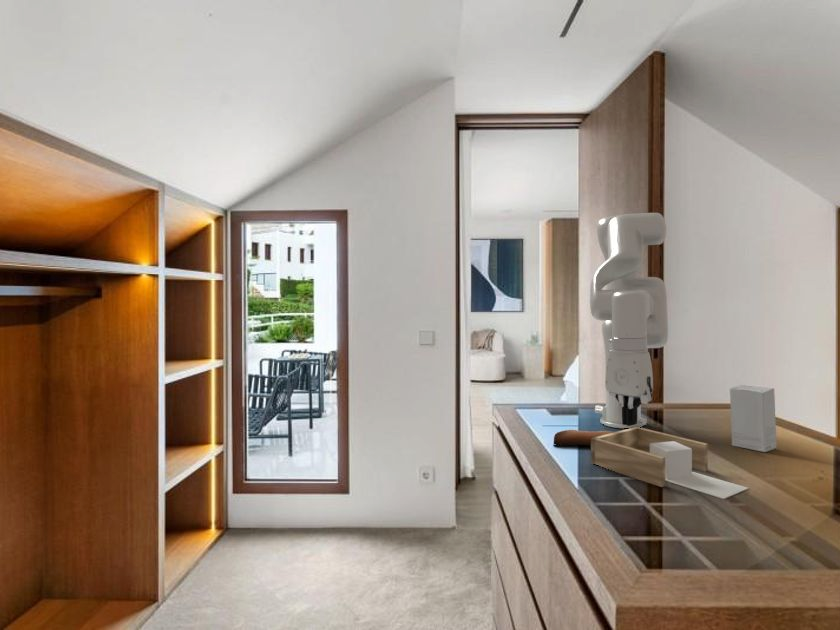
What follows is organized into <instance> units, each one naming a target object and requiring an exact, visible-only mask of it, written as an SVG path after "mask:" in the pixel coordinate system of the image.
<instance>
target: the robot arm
mask: <svg viewBox="0 0 840 630" xmlns="http://www.w3.org/2000/svg"><path fill="white" fill-rule="evenodd" d="M596 235H597V241H598V244H599V248H600V251H601V252H602V255H603V257H604V260H605V261H604V262H603V263H602V264H601V265H600V266H599V267H598V268H597V270H596V271H595V273H594V274H593V276H592V278H591V282H590V288H589V289H590V290H589V291H590V293H589V303H590V304H589V306H590V307H589V308H590V314H591V315H592V317H593V318H594V319H595V320H597V321H601V322H602V324H601V325H602V326H601V332H602V339H603V345H604V356H605V359H604V360H605V379H604V385H605V386H604V387H605V405H604V406H603V405H599V404H596V405H595V407H594V413H596V414H601V415H602V416H600V421H599V422H600V424H602V425H603V424H604V425H603V426H606V427H610V428H615V429H624V428H631V427H639V426H643V425H645V424H646V423H647V419H646V418H643V417H641V416H642V415H641V413H642V412H641V411H642V410H641V409H642V408H641V407H642V406H641V404H644V403H651V402H652V396H651V395H652V394H653V391H654V376H653V365H652V360H651V356H650V352H649V351H648V349H659V348H663V347H665V346H666V344H667V343H668V338H669V327H668V325H669V324H668V323H669V321H668V299H667V298H668V296H667V295H668V294H667V289H666V285H665V282H664V281H663V279H662V278H660V277H656V276H639V274H638V270H639V269H641V268H642V266H643V264H644V254H643V246H655V245H658V246H659V245H662V244H663V243H664V242H665V239H666V237H667V223H666V220H665V217H664V216H663V214H661V213H659V212H644V213H643V212H641V213H640V212H639V213H625V214H624V213H623V214H617V215H610V216H605V217H603V218H601V219H600V220H598V222H597V227H596ZM605 286H606V289H603V288H605ZM646 425H647V424H646Z"/></svg>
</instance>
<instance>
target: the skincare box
mask: <svg viewBox="0 0 840 630" xmlns="http://www.w3.org/2000/svg"><path fill="white" fill-rule="evenodd" d="M729 399H730V401H729V402H730V403H729V404H730V422H731V423H730V424H731V425H730V426H731V445H732V446H733V447H737V448H743V449H748V450H753V451H757V452H762V453H767V452H769V451H773V450H776V449H777V422H776V402H775V401H776V400H775V399H776V397H775V388H773V387H761V386H752V385H745V384H741V385H737V386H734V387H731V388H729ZM732 446H731V447H732Z"/></svg>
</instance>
